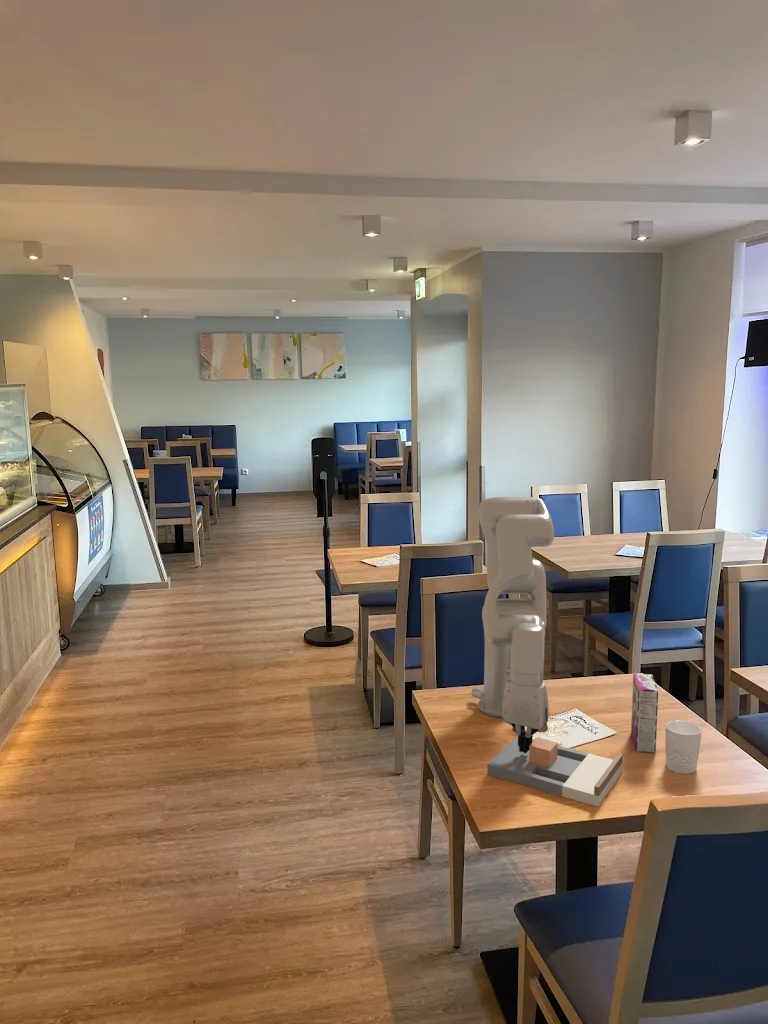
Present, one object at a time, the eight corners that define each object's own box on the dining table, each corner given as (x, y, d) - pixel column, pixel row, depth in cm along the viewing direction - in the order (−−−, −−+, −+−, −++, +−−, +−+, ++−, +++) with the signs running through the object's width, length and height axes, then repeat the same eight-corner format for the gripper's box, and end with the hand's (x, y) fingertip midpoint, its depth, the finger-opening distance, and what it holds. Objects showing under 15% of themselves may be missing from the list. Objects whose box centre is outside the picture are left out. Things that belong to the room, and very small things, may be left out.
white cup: (658, 759, 182) (660, 720, 180) (691, 759, 182) (694, 720, 180) (670, 775, 174) (672, 734, 173) (704, 775, 174) (707, 735, 172)
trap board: (487, 774, 175) (487, 756, 174) (518, 744, 190) (518, 727, 189) (598, 807, 161) (599, 787, 160) (622, 772, 176) (623, 754, 175)
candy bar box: (629, 732, 196) (632, 672, 194) (649, 734, 195) (652, 673, 193) (634, 752, 186) (638, 688, 183) (656, 754, 185) (659, 690, 182)
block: (529, 761, 176) (529, 745, 175) (537, 753, 180) (537, 737, 179) (549, 767, 173) (550, 750, 172) (557, 758, 177) (557, 742, 176)
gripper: (490, 674, 177) (489, 748, 180) (551, 688, 169) (548, 765, 171) (504, 665, 183) (502, 736, 186) (563, 678, 175) (560, 752, 177)
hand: (524, 750), depth 179 cm, fingers closed
